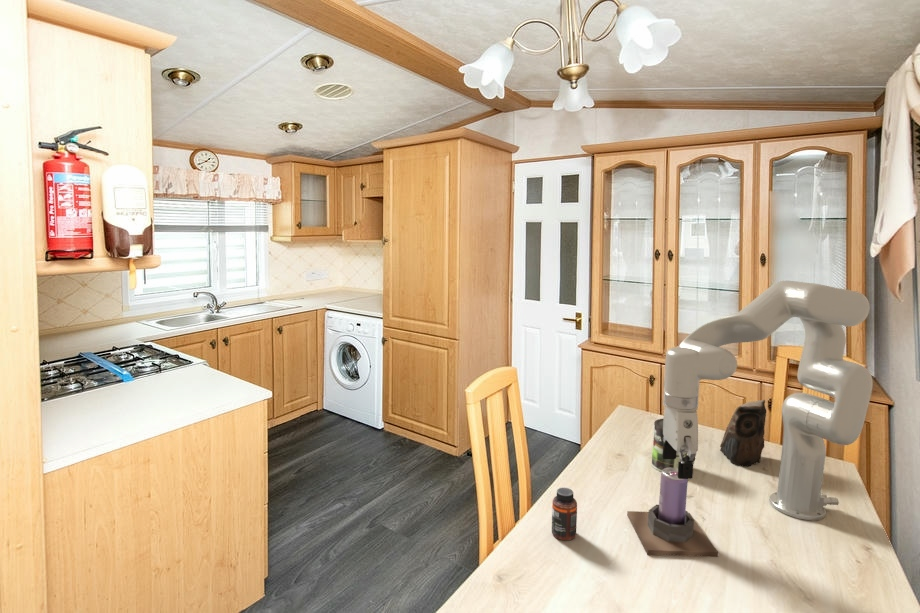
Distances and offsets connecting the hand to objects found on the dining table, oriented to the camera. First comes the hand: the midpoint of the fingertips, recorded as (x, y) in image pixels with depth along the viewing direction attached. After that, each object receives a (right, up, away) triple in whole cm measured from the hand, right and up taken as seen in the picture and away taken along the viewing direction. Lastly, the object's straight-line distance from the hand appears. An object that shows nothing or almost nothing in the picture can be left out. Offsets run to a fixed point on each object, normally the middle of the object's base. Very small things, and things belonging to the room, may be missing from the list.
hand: (676, 468), depth 121 cm
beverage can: (0, -16, +3) cm, 16 cm away
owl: (+40, -11, +45) cm, 61 cm away
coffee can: (+14, -12, +38) cm, 42 cm away
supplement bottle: (-27, -17, +3) cm, 32 cm away
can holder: (-1, -17, +3) cm, 17 cm away
